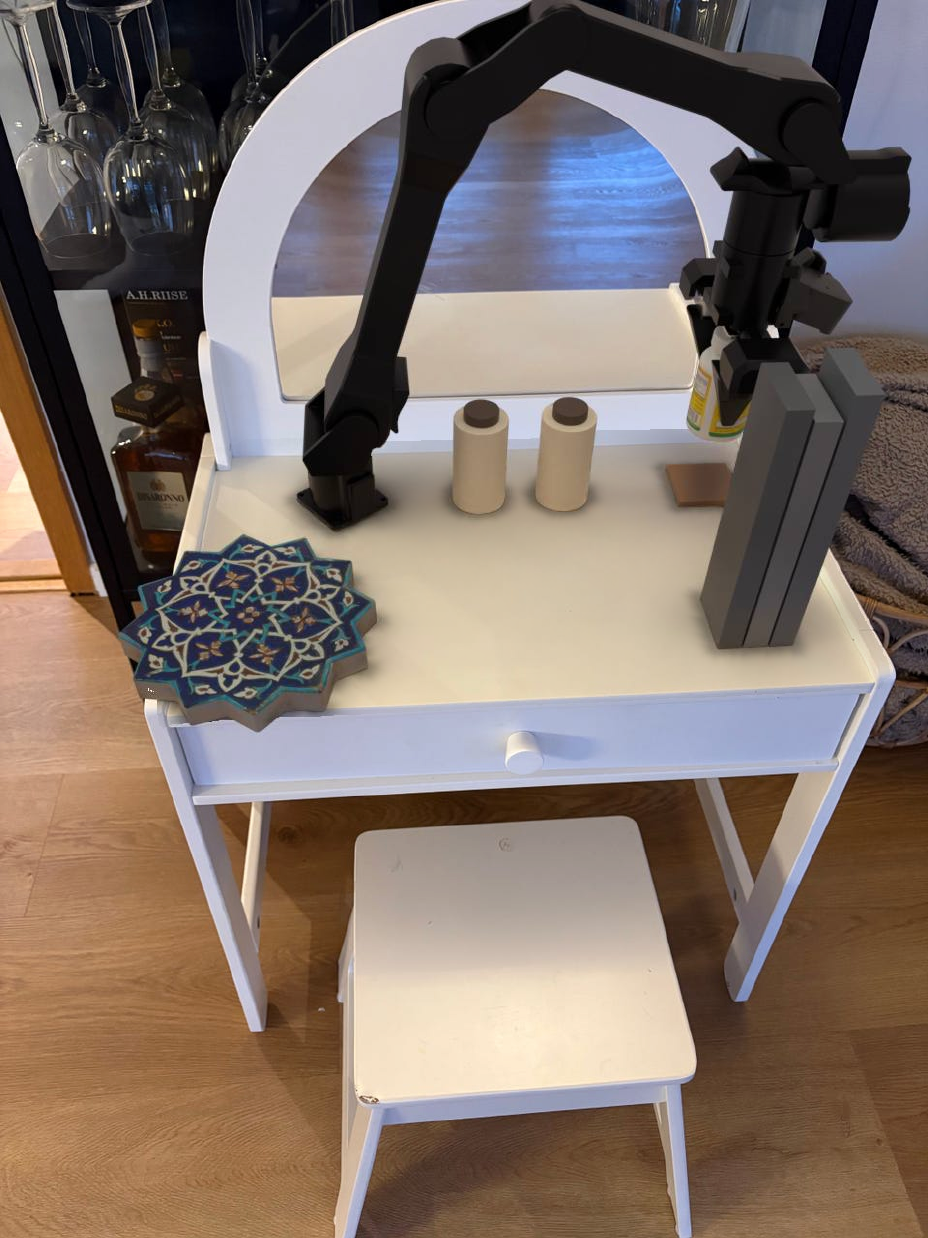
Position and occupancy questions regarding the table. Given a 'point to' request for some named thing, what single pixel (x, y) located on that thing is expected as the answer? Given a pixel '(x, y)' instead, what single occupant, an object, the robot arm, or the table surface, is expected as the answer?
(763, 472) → the grey grooved column
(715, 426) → the supplement bottle
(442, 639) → the table surface
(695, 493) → the oak coaster
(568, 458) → the cream bottle
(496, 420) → the cream bottle
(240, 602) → the decorative tile
